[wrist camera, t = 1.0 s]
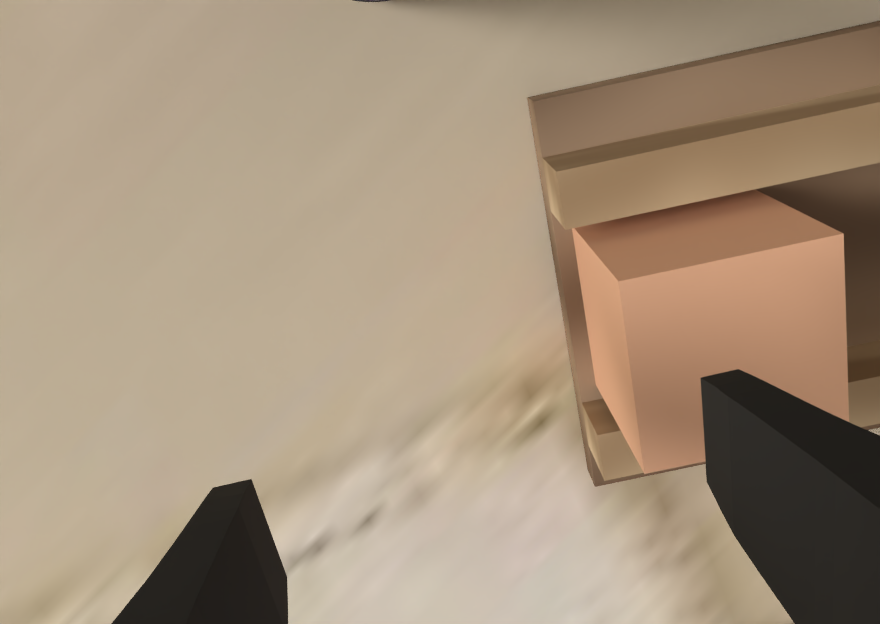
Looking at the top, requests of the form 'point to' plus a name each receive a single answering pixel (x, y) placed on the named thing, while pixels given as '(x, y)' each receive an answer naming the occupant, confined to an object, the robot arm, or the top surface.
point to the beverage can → (371, 0)
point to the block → (710, 314)
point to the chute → (720, 180)
